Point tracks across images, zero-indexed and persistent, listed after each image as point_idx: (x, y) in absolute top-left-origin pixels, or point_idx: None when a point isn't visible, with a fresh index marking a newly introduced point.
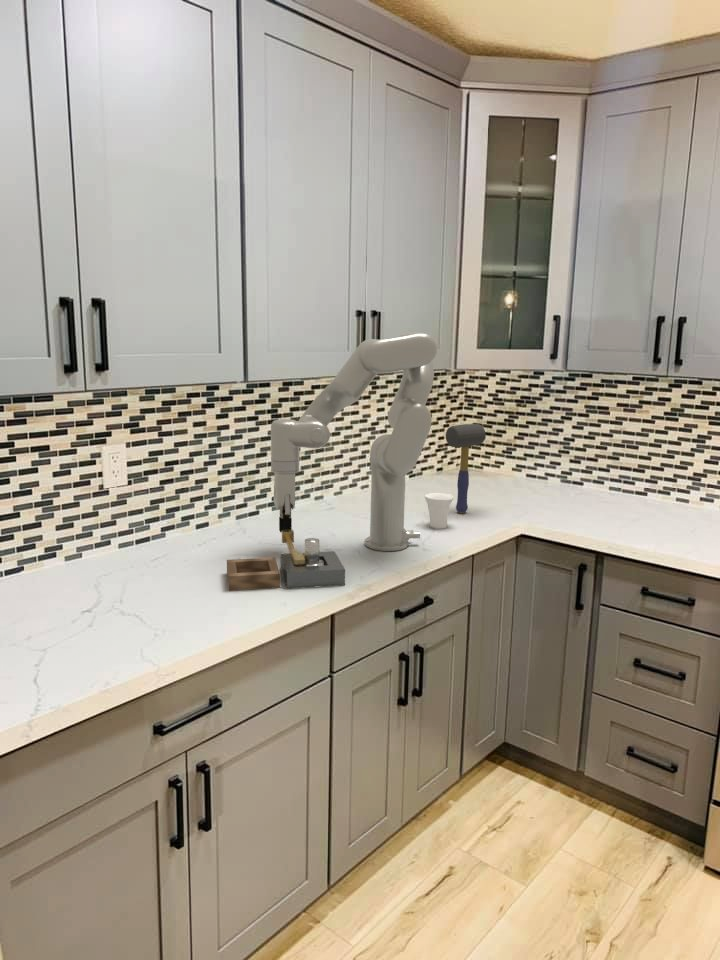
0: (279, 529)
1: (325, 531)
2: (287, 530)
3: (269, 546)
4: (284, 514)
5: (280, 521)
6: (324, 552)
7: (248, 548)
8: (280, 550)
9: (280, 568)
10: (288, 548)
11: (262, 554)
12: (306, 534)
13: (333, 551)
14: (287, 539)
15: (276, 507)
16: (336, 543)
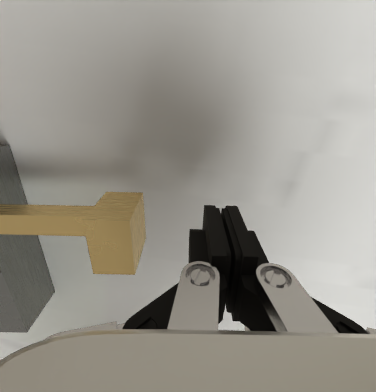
0: (226, 208)
1: (362, 319)
2: (116, 248)
3: (282, 137)
4: (132, 322)
5: (209, 244)
6: (6, 308)
7: (287, 32)
8: (220, 172)
9: (4, 145)
10: (9, 205)
11: (185, 94)
12: (362, 273)
13: (22, 329)
14: (82, 221)
15: (55, 357)
16: (243, 324)
